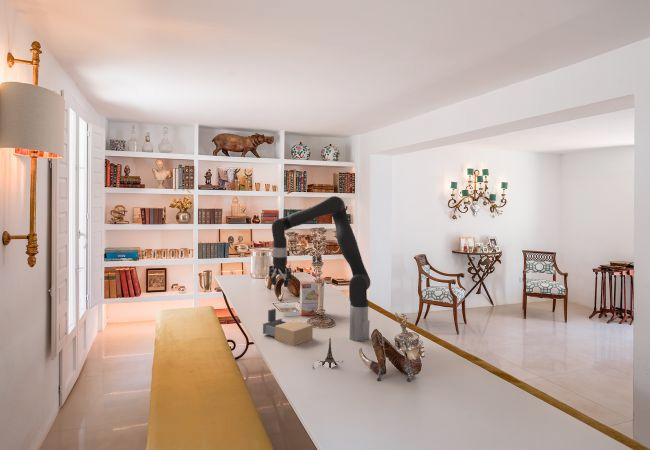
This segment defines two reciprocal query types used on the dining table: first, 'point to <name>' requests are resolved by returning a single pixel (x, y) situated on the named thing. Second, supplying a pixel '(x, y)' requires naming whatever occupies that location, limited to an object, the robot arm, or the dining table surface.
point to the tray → (271, 323)
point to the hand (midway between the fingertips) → (279, 285)
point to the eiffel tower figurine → (330, 358)
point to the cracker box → (309, 297)
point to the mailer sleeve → (293, 332)
